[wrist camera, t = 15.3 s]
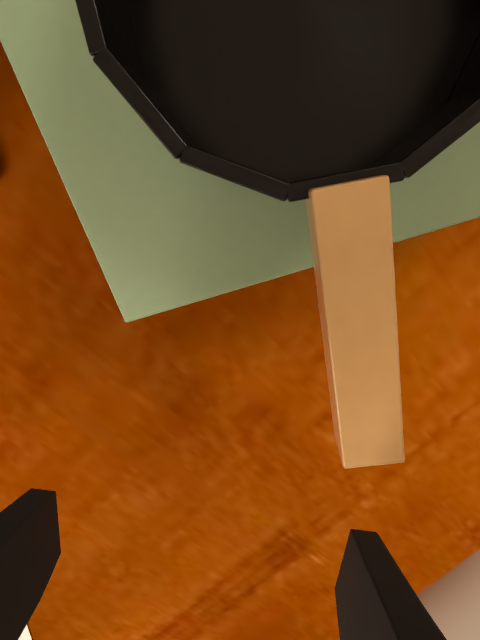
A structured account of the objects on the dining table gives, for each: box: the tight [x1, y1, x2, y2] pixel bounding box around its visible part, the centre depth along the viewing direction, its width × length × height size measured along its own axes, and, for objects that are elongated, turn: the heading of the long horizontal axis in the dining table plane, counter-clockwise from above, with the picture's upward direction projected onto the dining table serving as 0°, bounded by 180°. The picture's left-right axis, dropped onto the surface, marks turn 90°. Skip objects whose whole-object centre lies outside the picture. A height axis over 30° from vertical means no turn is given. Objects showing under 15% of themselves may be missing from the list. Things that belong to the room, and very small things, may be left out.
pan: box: [75, 0, 480, 468], centre depth 9 cm, size 17×10×4 cm, turn 10°
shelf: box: [0, 0, 480, 322], centre depth 12 cm, size 14×13×6 cm
